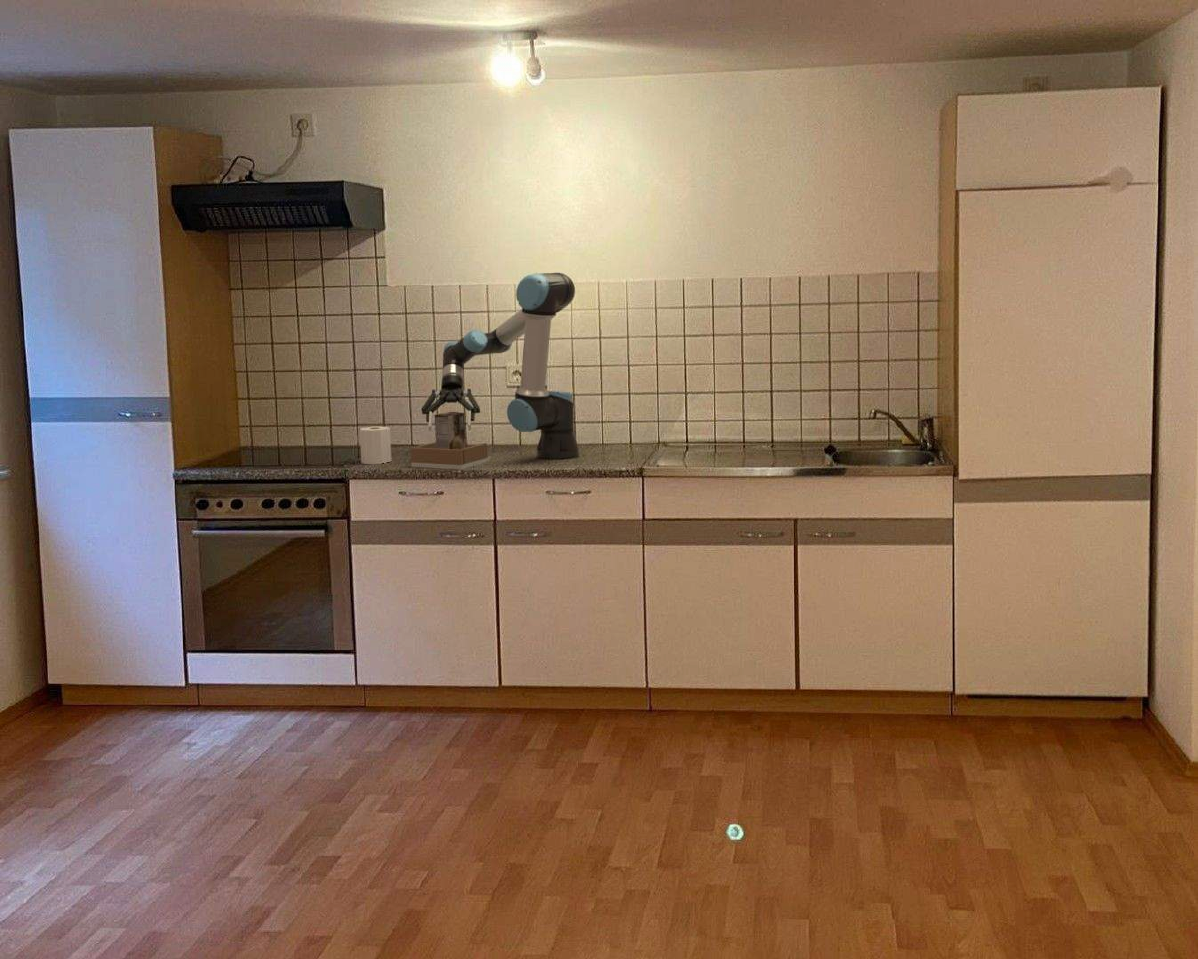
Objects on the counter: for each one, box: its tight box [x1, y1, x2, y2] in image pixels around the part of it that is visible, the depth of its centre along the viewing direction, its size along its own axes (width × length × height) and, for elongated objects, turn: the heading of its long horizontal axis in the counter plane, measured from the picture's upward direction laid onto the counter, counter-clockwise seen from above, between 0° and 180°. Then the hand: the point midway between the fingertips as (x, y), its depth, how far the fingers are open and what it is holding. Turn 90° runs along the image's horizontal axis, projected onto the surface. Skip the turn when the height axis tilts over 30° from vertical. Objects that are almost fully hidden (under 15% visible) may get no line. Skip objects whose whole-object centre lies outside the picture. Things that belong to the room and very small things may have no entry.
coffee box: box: [434, 411, 467, 450], centre depth 503 cm, size 9×6×16 cm
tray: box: [410, 441, 490, 470], centre depth 504 cm, size 20×18×6 cm
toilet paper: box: [359, 426, 392, 465], centre depth 513 cm, size 10×10×12 cm
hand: (449, 428), depth 507 cm, fingers open, 13 cm apart
